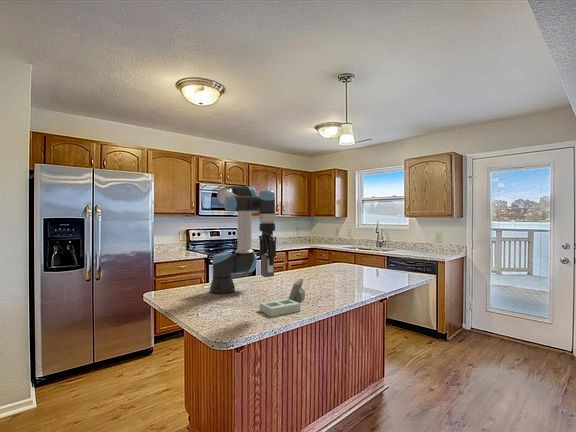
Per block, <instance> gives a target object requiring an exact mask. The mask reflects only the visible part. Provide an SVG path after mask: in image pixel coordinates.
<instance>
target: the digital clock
mask: <svg viewBox="0 0 576 432" xmlns="http://www.w3.org/2000/svg"><path fill="white" fill-rule="evenodd" d="M303 283H304V280H303V278H298V279H297V280H296V281H295V282H294V283H293V284H292V287H291V289H290V292H289V296H288V298H287V299H290V300H293V301H295V302H298V303H302V302H303V301H304V300H305V298H306V295H305V292H306V291H305V289H304V288H303V287H302V285H303Z"/></svg>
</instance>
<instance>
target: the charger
mask: <svg viewBox="0 0 576 432" xmlns="http://www.w3.org/2000/svg"><path fill="white" fill-rule="evenodd" d="M267 257H268V254H267V255H266V253H265V255H261V256H260V263H261V264H260V266H261V267H260V269H261V272H260V273H261V277H264V278H270V277H275V257H274V258H273V272H269V273H268V272H267Z"/></svg>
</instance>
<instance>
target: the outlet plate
mask: <svg viewBox="0 0 576 432" xmlns="http://www.w3.org/2000/svg"><path fill="white" fill-rule="evenodd" d="M259 311H260V312H262V313H264V314H266V315H268V316H270V317H276V316H281V315H286V314H292V313H296V312H300V311H301V302H295V301H293V300H290V299H288V298H282V299H274V300H268V301H263V302H259Z"/></svg>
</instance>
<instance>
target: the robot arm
mask: <svg viewBox="0 0 576 432" xmlns="http://www.w3.org/2000/svg"><path fill="white" fill-rule="evenodd" d="M216 198H217V199H216V200H217V201H218V202H219V203H220V204H222V205H223V206H224V210H225V211H226V212H237V249H236V250H235V251H234V254H233V253H232V252H231V251H230V252H229V251H228V252H221V253H217V254H214V255H213V256H212V263H211V264H212V280H211V283H210V287H209V293H210V294H215V295H226V294H231V293H235V291H236V285H235V283H234V280H233V274H244V273H245V274H248V273H252V272H254V271H255V269H256V268H257V261H258V258H257V254H256V253H255V251H254V250H253V248H252V220H253V219H252V212H258V213H259V216H258V218H259V231H260V232H261V235H258V239H259V256H260V257H261V255H265V253H266V255H268V257H267V272H268V273H269V272H273V258H274V259H275V258H276V257H277V236H276V235H274V233H273V232H275V231H276V223H275V222H276V208H275V207H276V201H275V200H276V194H275V191H274V190H260V191H259V194H257V191H256V189H255V187H254V186H249V185H245V186H244V185H226V186H223V187H221V188H219V190H217V193H216Z"/></svg>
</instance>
